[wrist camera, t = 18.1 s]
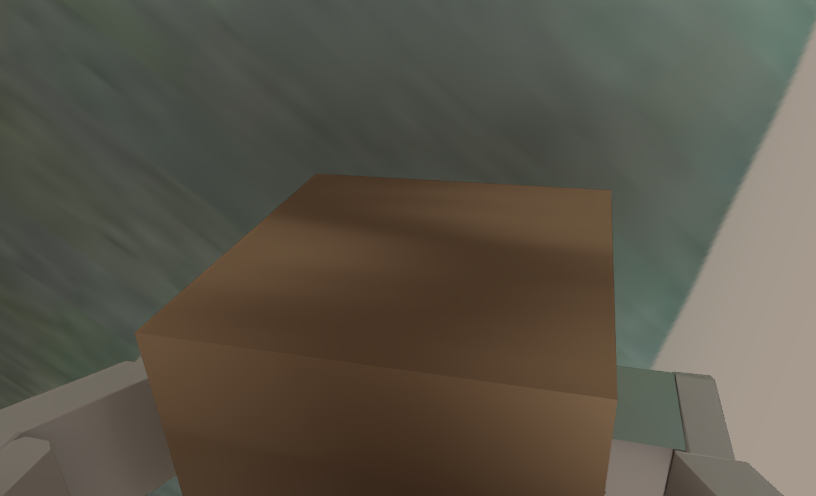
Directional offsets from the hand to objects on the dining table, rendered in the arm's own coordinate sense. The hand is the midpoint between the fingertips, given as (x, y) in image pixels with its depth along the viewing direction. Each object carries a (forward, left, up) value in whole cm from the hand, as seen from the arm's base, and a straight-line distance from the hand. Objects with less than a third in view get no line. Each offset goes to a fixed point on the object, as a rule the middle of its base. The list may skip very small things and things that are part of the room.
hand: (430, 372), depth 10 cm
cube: (0, 0, -2) cm, 2 cm away
